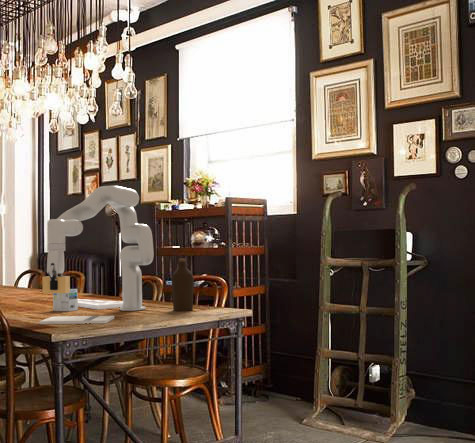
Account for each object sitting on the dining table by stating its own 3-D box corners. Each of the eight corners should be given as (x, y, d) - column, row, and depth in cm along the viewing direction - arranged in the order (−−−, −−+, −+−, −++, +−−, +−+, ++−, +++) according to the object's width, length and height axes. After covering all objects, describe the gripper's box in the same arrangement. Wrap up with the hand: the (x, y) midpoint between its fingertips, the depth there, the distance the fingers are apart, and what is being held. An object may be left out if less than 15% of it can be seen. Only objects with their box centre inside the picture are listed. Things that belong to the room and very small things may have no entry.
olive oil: (182, 311, 304) (182, 259, 305) (167, 310, 311) (166, 259, 312) (198, 309, 312) (197, 258, 313) (183, 308, 319) (182, 258, 320)
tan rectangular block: (47, 292, 280) (47, 276, 280) (69, 292, 280) (69, 275, 280) (42, 293, 274) (42, 276, 274) (65, 293, 274) (65, 276, 274)
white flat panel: (52, 319, 285) (52, 316, 285) (114, 318, 284) (114, 315, 284) (39, 324, 269) (39, 320, 269) (105, 323, 268) (105, 320, 268)
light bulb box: (78, 310, 321) (78, 288, 321) (69, 311, 315) (69, 289, 315) (61, 309, 326) (61, 288, 326) (52, 311, 319) (52, 289, 320)
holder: (59, 304, 356) (59, 299, 356) (89, 301, 368) (89, 297, 368) (97, 310, 322) (97, 305, 322) (129, 307, 333) (129, 302, 333)
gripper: (54, 247, 286) (54, 288, 286) (40, 247, 269) (40, 290, 269) (70, 247, 286) (71, 287, 285) (58, 247, 269) (58, 290, 268)
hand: (56, 288), depth 277 cm, fingers closed on tan rectangular block, 6 cm apart
